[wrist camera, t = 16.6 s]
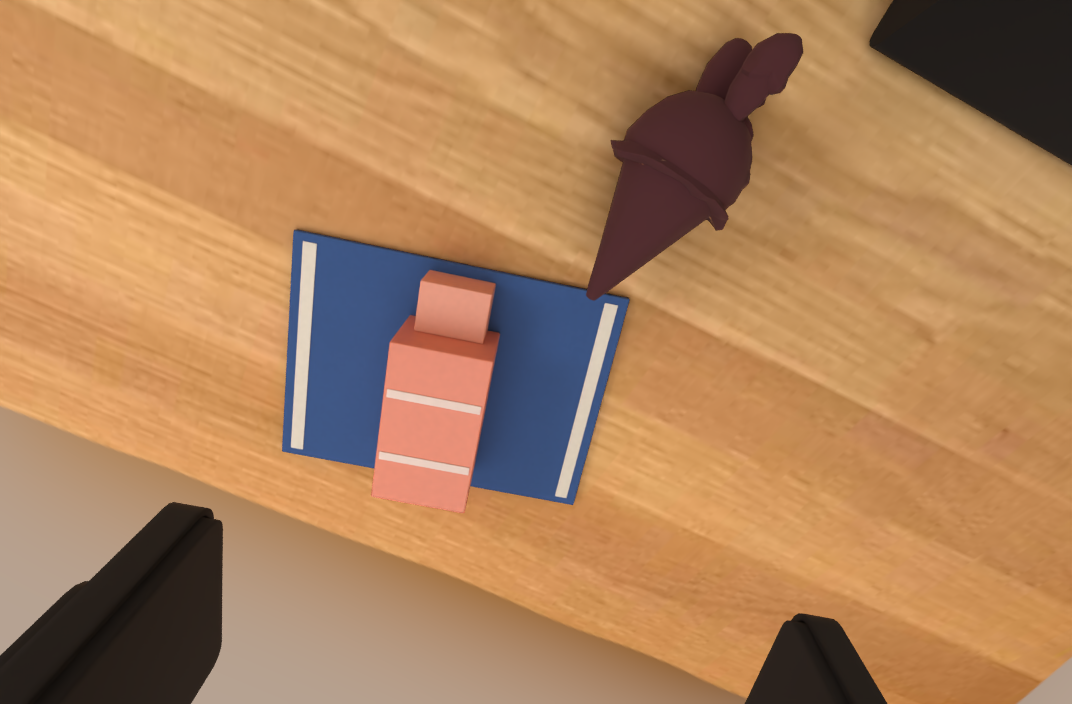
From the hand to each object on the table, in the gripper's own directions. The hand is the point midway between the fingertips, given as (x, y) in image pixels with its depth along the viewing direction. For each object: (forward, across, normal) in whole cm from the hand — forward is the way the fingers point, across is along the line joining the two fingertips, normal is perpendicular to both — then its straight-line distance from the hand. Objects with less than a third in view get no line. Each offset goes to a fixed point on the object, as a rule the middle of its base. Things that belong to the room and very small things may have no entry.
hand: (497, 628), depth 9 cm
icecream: (+26, -6, -7) cm, 28 cm away
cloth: (+26, +4, +8) cm, 28 cm away
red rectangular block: (+26, +4, +8) cm, 27 cm away
